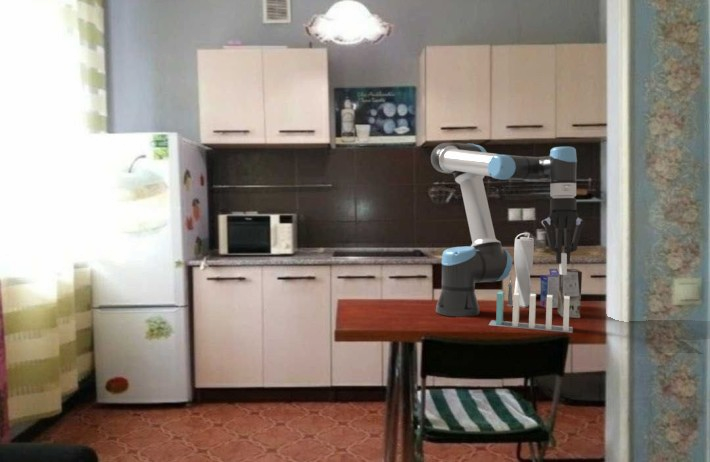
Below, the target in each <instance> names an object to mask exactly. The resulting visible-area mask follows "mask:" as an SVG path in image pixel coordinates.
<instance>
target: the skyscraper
mask: <svg viewBox="0 0 710 462" xmlns="http://www.w3.org/2000/svg"><path fill="white" fill-rule="evenodd" d="M522 235H527V237H526V236H522ZM530 235H531V234H530V233H529V232H522V233H519V234H517V235H516V237H515V238H514V246H513V247H514V249H513V250H514V253H513V259H514V261H513V262H514V270H515V282H514V285H513V283H512V279H513V277H512V272H509V283H508V285H507V286H508V290H507V291H508V292H507V293H508V294H507V304H506V307H512V306H513V294H514V293H520V300H519V309H520V308H521V309H526V308H528V307H529V306H530V294H532V285H531V284H532V283H531V273H532V269H533V263H534V253H535V252H534V248H535V246H534V244H535V241H534V240H535V239H534V238H533V237H530ZM518 237H519V239H518ZM513 286H514V290H513Z"/></svg>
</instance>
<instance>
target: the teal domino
mask: <svg viewBox="0 0 710 462" xmlns="http://www.w3.org/2000/svg"><path fill="white" fill-rule="evenodd" d="M504 292H505V291H500V290H499V291H498V292H497V293H496V312H495V313H496V315H495V316H496V317H495V318H496V319H495V320H496V325H502V323H503V321H504V294H505V293H504Z"/></svg>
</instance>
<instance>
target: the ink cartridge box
mask: <svg viewBox="0 0 710 462" xmlns="http://www.w3.org/2000/svg"><path fill="white" fill-rule="evenodd" d="M548 271H549V274H541V275H540V300H539V301H540V307H543V308H545V309H546V304H547V295H553V298H552V309H558V281H559V269H558V268H548ZM552 271H555V272H552Z"/></svg>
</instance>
